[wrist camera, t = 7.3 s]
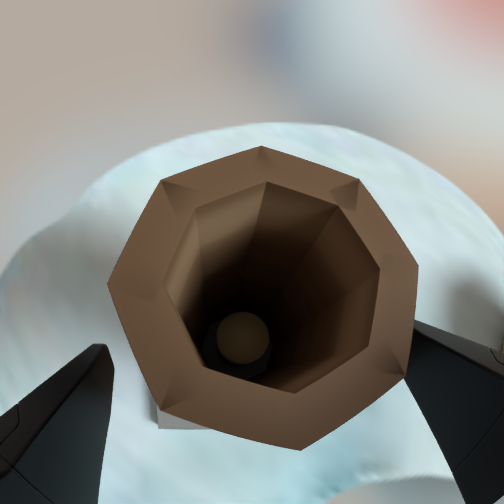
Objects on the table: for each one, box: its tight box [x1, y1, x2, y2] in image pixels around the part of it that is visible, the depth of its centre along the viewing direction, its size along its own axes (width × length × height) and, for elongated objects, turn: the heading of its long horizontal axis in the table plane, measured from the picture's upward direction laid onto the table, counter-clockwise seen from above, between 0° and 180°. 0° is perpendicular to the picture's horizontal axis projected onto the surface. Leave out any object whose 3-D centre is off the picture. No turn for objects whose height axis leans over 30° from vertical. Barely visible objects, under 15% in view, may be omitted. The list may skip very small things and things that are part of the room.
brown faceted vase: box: [107, 146, 419, 451], centre depth 11 cm, size 6×6×13 cm
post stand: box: [157, 312, 273, 429], centre depth 16 cm, size 10×10×5 cm
